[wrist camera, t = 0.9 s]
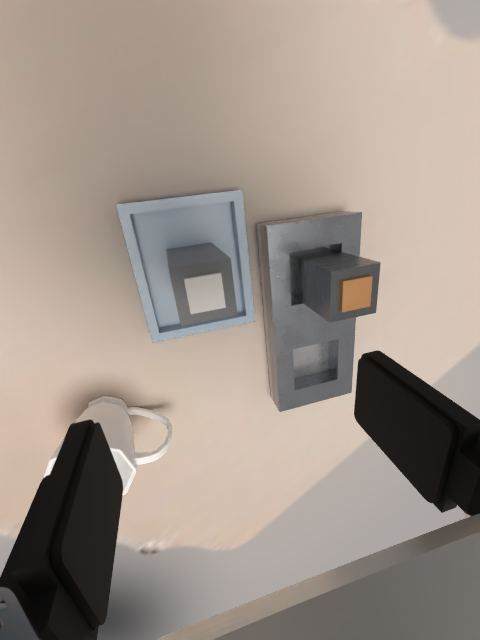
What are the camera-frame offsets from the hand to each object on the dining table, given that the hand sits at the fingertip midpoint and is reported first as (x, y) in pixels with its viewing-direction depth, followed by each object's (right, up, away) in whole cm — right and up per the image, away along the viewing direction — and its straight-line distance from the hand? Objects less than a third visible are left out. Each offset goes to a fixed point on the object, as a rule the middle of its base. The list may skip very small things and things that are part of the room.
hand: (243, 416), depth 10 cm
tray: (-4, +8, +17) cm, 19 cm away
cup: (-13, -6, +21) cm, 25 cm away
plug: (-4, +8, +16) cm, 19 cm away
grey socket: (+7, +4, +21) cm, 23 cm away
